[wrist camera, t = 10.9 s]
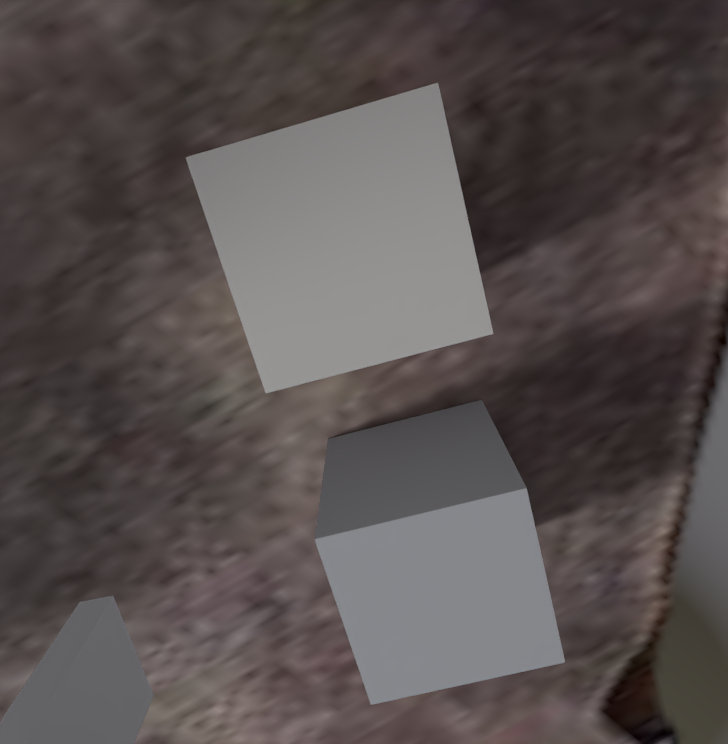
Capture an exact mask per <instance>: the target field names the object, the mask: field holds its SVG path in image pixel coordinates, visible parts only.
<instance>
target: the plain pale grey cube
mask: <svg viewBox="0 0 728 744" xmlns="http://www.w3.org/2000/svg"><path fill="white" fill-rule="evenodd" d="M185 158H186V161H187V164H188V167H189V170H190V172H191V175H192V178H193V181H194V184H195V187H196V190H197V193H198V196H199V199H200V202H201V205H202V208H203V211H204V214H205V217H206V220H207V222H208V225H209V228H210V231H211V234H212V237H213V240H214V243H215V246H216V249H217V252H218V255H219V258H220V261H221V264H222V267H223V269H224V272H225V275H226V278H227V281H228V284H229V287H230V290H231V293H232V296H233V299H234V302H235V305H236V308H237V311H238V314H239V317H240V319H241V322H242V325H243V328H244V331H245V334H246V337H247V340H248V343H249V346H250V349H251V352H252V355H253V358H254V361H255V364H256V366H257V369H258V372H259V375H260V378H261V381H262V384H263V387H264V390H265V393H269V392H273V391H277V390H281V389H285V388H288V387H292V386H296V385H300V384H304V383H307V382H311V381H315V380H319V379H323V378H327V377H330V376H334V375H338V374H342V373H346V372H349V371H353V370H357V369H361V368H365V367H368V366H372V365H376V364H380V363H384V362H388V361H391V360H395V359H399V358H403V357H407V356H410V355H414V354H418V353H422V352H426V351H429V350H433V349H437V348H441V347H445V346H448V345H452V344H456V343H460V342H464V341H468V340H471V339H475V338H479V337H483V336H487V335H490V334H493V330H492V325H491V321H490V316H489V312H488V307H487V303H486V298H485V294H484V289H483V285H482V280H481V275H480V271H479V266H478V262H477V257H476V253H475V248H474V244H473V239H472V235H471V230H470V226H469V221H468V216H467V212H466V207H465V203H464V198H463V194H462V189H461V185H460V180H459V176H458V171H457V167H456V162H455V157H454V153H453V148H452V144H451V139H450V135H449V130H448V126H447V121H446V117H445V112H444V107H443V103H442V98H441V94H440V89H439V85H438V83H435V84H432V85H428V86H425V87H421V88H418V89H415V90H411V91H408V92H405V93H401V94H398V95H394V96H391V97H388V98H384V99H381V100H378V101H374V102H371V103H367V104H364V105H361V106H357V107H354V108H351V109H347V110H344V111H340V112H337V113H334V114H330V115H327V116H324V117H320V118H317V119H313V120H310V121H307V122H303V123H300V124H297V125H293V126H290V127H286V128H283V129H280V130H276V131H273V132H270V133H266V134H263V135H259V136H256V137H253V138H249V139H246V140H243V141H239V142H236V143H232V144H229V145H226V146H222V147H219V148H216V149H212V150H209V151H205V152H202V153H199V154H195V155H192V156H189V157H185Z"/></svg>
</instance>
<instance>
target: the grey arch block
mask: <svg viewBox="0 0 728 744" xmlns="http://www.w3.org/2000/svg"><path fill="white" fill-rule="evenodd" d="M315 542H316V545H317V548H318V551H319V554H320V557H321V559H322V562H323V565H324V568H325V571H326V574H327V577H328V580H329V583H330V586H331V589H332V592H333V595H334V598H335V601H336V603H337V606H338V609H339V612H340V615H341V618H342V621H343V624H344V627H345V630H346V633H347V636H348V639H349V642H350V645H351V648H352V650H353V653H354V656H355V659H356V662H357V665H358V668H359V671H360V674H361V677H362V680H363V683H364V686H365V689H366V692H367V695H368V697H369V700H370V703H371V705H372V704H377V703H381V702H386V701H391V700H395V699H400V698H404V697H409V696H413V695H418V694H423V693H427V692H432V691H436V690H441V689H446V688H450V687H455V686H459V685H464V684H468V683H473V682H478V681H482V680H487V679H491V678H496V677H500V676H505V675H510V674H514V673H519V672H523V671H528V670H532V669H537V668H542V667H546V666H551V665H555V664H560V663H564V662H565V660H564V655H563V651H562V646H561V641H560V637H559V632H558V628H557V623H556V619H555V614H554V610H553V605H552V601H551V596H550V592H549V587H548V583H547V578H546V573H545V569H544V564H543V560H542V555H541V551H540V546H539V542H538V537H537V533H536V528H535V524H534V519H533V515H532V510H531V505H530V501H529V496H528V492H527V488H526V486H525V484H524V482H523V480H522V478H521V476H520V474H519V472H518V470H517V468H516V466H515V464H514V462H513V460H512V458H511V456H510V454H509V452H508V450H507V448H506V446H505V444H504V443H503V441H502V439H501V437H500V435H499V433H498V431H497V429H496V427H495V425H494V423H493V421H492V419H491V417H490V415H489V413H488V411H487V409H486V407H485V405H484V403H483V401H482V400H479V401H475V402H471V403H467V404H463V405H459V406H455V407H451V408H447V409H443V410H439V411H436V412H432V413H428V414H424V415H420V416H416V417H412V418H408V419H404V420H400V421H396V422H392V423H388V424H384V425H380V426H377V427H373V428H369V429H365V430H361V431H357V432H353V433H349V434H345V435H341V436H337V437H333V438H329V439H328V443H327V450H326V458H325V465H324V473H323V480H322V488H321V495H320V503H319V510H318V518H317V525H316V533H315Z"/></svg>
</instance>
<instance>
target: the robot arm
mask: <svg viewBox="0 0 728 744" xmlns="http://www.w3.org/2000/svg"><path fill="white" fill-rule="evenodd" d="M152 698H153V693H152V690H151V688H150V685H149V683H148V680H147V678H146V675H145V673H144V671H143V668H142V666H141V663H140V661H139V658H138V656H137V653H136V651H135V648H134V646H133V643H132V641H131V639H130V636H129V634H128V631H127V629H126V626H125V624H124V621H123V619H122V616H121V614H120V612H119V609H118V607H117V604H116V602H115V599H114V597H113V596H108V597H103V598H97V599H92V600H87V601H82V602H79V604H78V605H77V607H76V608H75V610H74V611H73V613H72V614H71V616H70V617H69V619H68V620H67V622H66V623H65V625H64V626H63V628H62V629H61V631H60V632H59V634H58V635H57V637H56V638H55V640H54V641H53V643H52V644H51V646H50V647H49V649H48V650H47V652H46V653H45V655H44V656H43V658H42V659H41V661H40V662H39V664H38V665H37V667H36V668H35V670H34V671H33V673H32V674H31V676H30V677H29V679H28V680H27V682H26V684H25V685H24V687H23V688H22V690H21V691H20V693H19V694H18V696H17V697H16V699H15V700H14V702H13V703H12V705H11V706H10V708H9V709H8V711H7V712H6V714H5V715H4V717H3V718H2V720H1V721H0V744H134V742H135V740H136V737H137V735H138V732H139V730H140V727H141V725H142V723H143V720H144V718H145V715H146V713H147V710H148V708H149V705H150V703H151V700H152Z"/></svg>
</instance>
